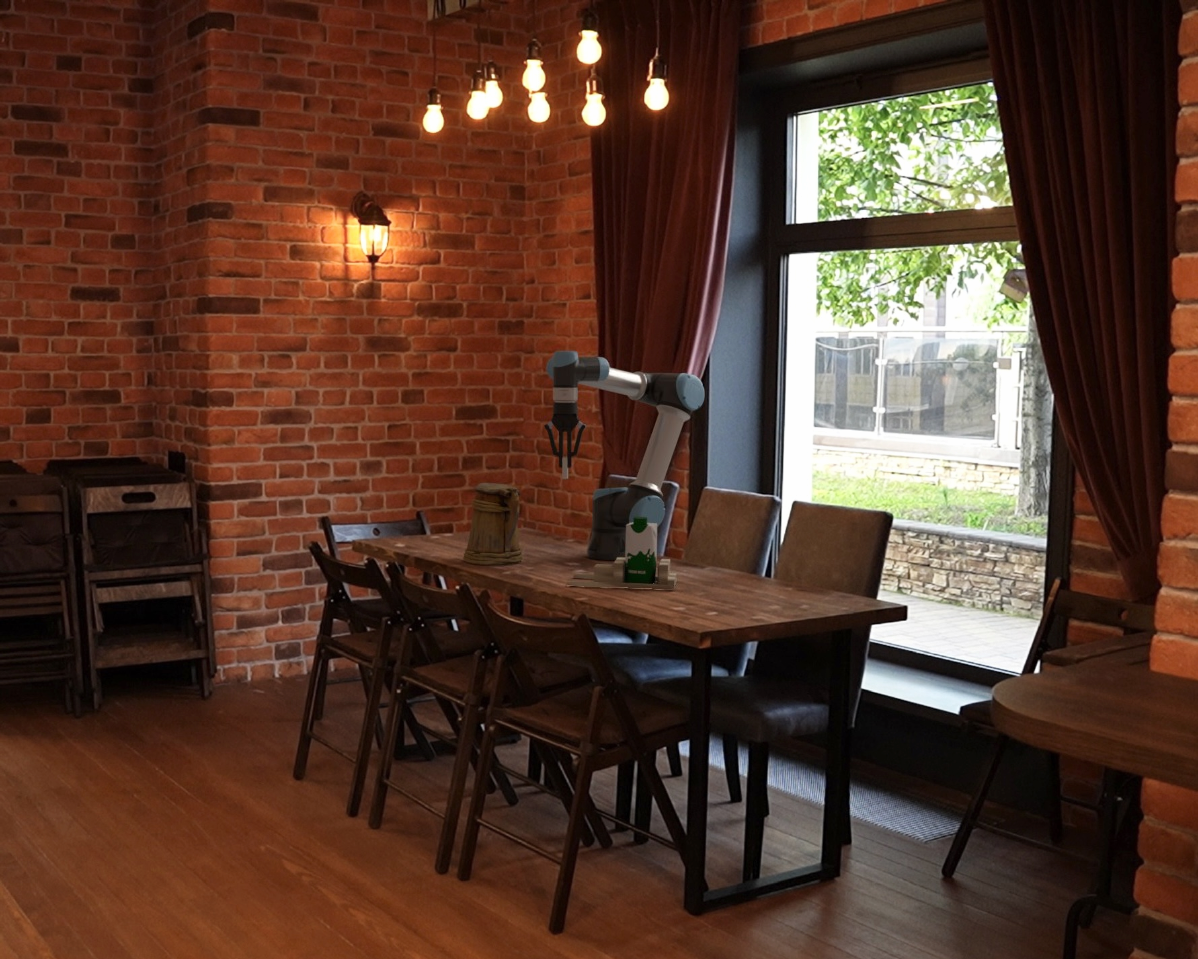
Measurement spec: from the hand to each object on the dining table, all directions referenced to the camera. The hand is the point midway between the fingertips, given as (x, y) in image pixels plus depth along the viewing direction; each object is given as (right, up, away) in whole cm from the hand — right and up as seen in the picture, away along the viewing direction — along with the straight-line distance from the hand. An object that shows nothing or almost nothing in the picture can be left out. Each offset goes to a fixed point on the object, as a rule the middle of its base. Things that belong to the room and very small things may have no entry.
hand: (565, 478), depth 419 cm
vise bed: (+17, -31, -20) cm, 41 cm away
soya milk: (+23, -31, -20) cm, 44 cm away
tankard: (-22, -27, +16) cm, 38 cm away
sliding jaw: (+14, -31, -20) cm, 39 cm away
